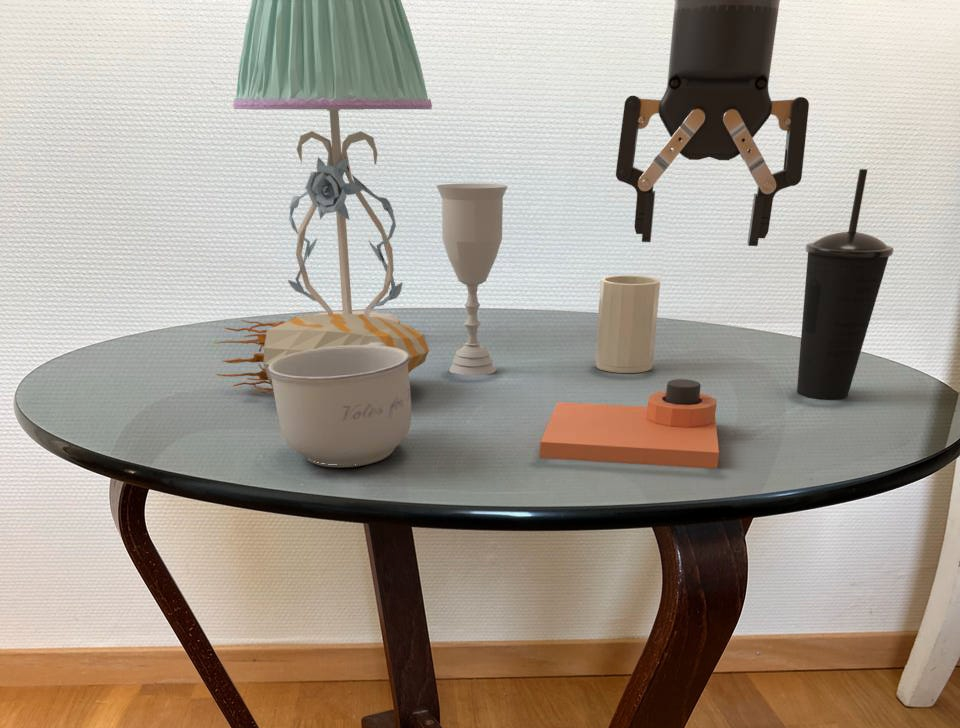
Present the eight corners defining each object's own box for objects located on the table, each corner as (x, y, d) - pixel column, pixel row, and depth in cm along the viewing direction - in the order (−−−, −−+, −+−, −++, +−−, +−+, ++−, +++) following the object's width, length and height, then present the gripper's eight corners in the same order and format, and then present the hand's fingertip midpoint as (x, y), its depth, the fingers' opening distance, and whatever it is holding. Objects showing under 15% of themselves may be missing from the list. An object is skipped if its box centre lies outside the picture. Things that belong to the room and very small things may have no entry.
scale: (712, 425, 84) (716, 392, 82) (717, 469, 73) (722, 432, 72) (556, 417, 86) (558, 384, 84) (539, 458, 76) (540, 421, 74)
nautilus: (185, 408, 90) (266, 379, 103) (390, 414, 83) (449, 383, 96) (170, 321, 87) (255, 303, 99) (383, 321, 80) (445, 301, 93)
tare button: (698, 400, 81) (700, 379, 80) (698, 408, 79) (701, 388, 78) (665, 398, 82) (667, 378, 81) (665, 407, 79) (667, 386, 79)
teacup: (362, 488, 70) (355, 379, 66) (249, 464, 74) (237, 361, 70) (456, 438, 80) (455, 342, 76) (353, 420, 85) (347, 329, 81)
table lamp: (224, 350, 109) (169, -77, 90) (310, 317, 127) (280, -45, 108) (396, 364, 104) (377, -90, 84) (461, 327, 121) (457, -54, 102)
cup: (653, 361, 105) (660, 276, 101) (651, 374, 100) (659, 285, 96) (597, 358, 106) (603, 274, 102) (593, 371, 101) (598, 283, 97)
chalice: (468, 381, 97) (467, 189, 88) (426, 370, 101) (421, 185, 93) (518, 370, 101) (523, 186, 93) (476, 359, 106) (476, 182, 97)
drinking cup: (859, 408, 89) (907, 172, 79) (776, 399, 91) (813, 170, 82) (866, 389, 95) (912, 168, 85) (788, 381, 98) (824, 166, 88)
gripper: (625, 0, 67) (608, 246, 75) (834, -1, 65) (793, 252, 72) (631, 10, 73) (614, 235, 81) (821, 9, 71) (784, 240, 79)
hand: (699, 243), depth 77 cm, fingers open, 8 cm apart
